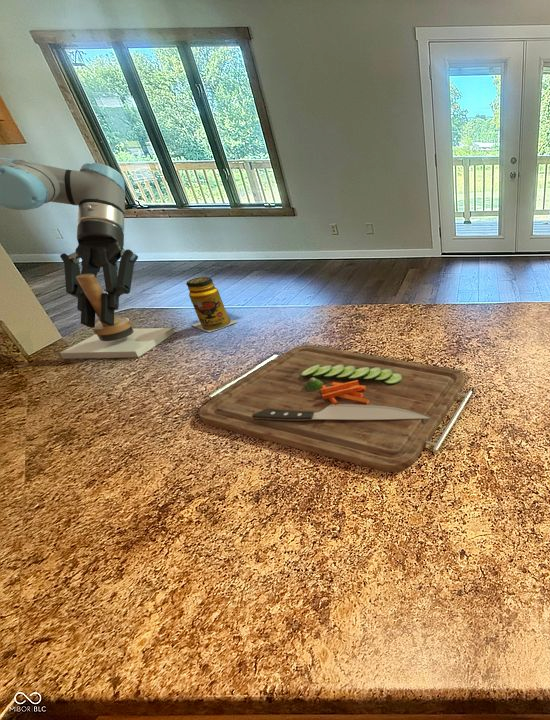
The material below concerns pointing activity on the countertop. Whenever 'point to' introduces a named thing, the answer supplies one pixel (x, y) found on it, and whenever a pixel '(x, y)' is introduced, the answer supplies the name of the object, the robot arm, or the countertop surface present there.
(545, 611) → the countertop surface
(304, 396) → the chopping board
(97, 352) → the tile
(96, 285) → the brush
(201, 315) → the condiment
